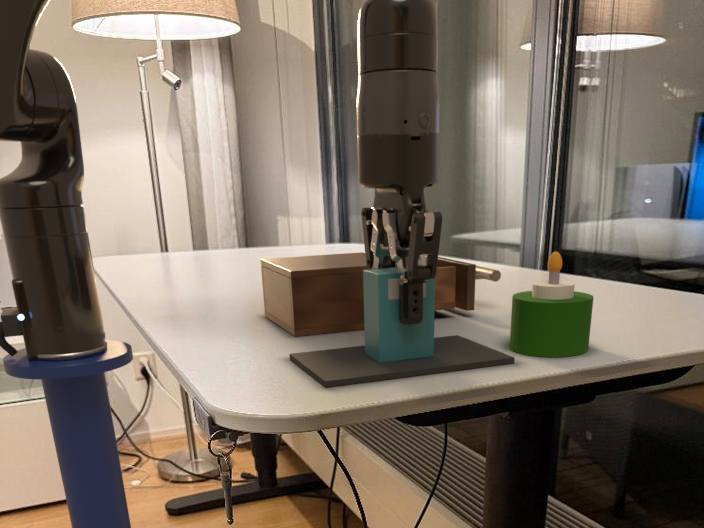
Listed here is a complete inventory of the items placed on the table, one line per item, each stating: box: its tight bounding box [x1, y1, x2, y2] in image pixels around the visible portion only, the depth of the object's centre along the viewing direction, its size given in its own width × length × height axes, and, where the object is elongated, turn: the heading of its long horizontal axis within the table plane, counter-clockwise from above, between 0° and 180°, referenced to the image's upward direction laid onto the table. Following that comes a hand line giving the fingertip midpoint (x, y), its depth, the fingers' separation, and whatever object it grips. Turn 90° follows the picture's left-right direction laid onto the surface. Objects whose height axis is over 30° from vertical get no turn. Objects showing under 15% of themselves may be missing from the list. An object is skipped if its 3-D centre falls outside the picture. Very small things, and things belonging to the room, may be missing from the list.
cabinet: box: [260, 252, 373, 337], centre depth 94 cm, size 15×15×8 cm
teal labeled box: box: [363, 267, 435, 363], centre depth 72 cm, size 6×4×8 cm
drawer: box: [406, 255, 502, 312], centre depth 98 cm, size 19×13×6 cm
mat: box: [289, 334, 515, 388], centre depth 74 cm, size 20×12×1 cm, turn 111°
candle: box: [509, 251, 594, 358], centre depth 76 cm, size 8×8×10 cm
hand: (399, 317), depth 73 cm, fingers open, 5 cm apart
